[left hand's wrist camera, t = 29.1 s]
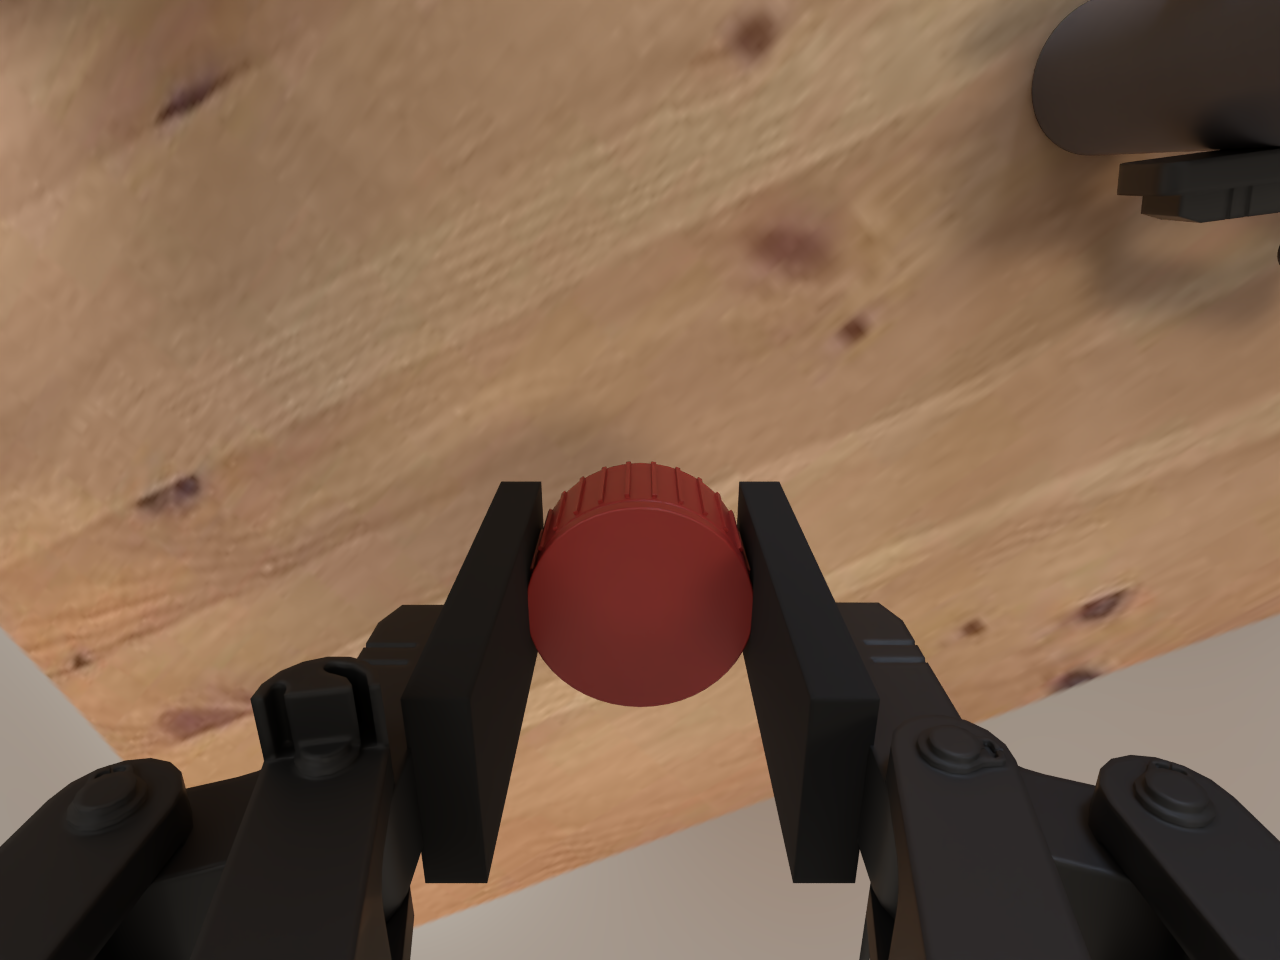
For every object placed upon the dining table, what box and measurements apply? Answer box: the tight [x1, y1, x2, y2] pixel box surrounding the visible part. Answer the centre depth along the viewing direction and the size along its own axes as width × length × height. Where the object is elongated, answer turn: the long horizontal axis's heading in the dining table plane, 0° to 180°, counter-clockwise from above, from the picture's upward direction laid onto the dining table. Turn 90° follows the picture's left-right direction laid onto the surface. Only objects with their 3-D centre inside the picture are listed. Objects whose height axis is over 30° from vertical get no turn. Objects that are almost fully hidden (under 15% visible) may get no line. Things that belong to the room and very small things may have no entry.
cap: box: [528, 462, 753, 707], centre depth 14 cm, size 4×4×2 cm
